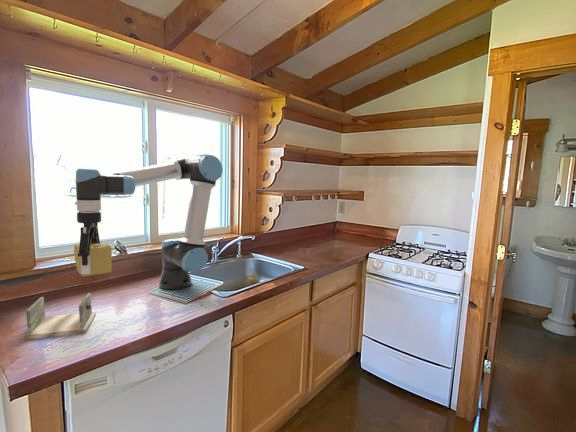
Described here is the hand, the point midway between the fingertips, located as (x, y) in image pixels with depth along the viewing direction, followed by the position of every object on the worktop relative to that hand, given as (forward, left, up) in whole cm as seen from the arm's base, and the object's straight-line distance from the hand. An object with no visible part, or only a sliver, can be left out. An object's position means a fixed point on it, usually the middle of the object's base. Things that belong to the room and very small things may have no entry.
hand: (90, 268), depth 121 cm
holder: (+9, +5, -19) cm, 22 cm away
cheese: (-1, 0, -1) cm, 2 cm away
